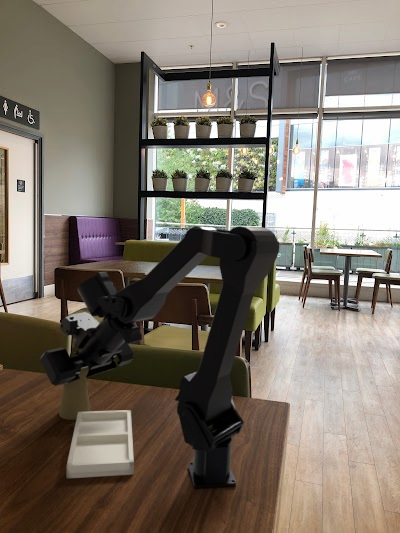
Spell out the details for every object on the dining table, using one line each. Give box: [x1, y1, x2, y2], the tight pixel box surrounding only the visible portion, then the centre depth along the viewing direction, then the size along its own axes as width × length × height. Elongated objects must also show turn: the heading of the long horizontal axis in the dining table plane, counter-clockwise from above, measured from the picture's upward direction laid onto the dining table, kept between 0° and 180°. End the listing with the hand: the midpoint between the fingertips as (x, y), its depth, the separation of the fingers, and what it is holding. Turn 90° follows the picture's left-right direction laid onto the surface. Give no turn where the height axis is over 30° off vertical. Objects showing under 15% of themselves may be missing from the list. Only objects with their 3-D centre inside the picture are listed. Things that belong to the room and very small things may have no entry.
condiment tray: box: [66, 409, 135, 479], centre depth 77 cm, size 19×10×2 cm, turn 10°
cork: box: [58, 367, 91, 421], centre depth 89 cm, size 6×6×11 cm
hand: (70, 379), depth 90 cm, fingers closed on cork, 5 cm apart
